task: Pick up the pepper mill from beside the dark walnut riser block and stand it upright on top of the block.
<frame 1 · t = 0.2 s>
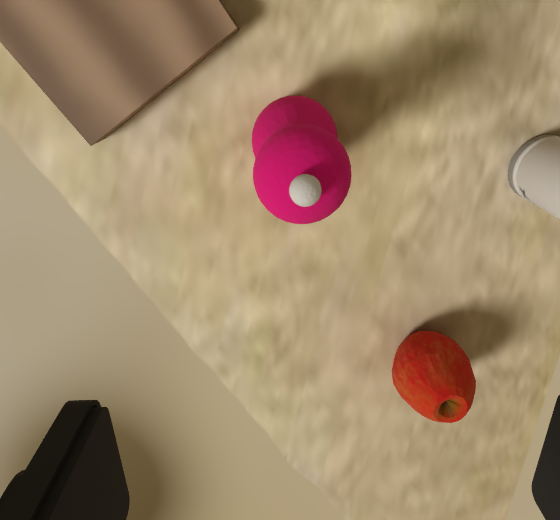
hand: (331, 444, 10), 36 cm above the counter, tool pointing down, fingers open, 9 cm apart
travel mug: (538, 168, 44), on the counter
pepper mill: (292, 132, 42), on the counter
apple: (419, 347, 53), on the counter
walnut base: (120, 25, 38), on the counter
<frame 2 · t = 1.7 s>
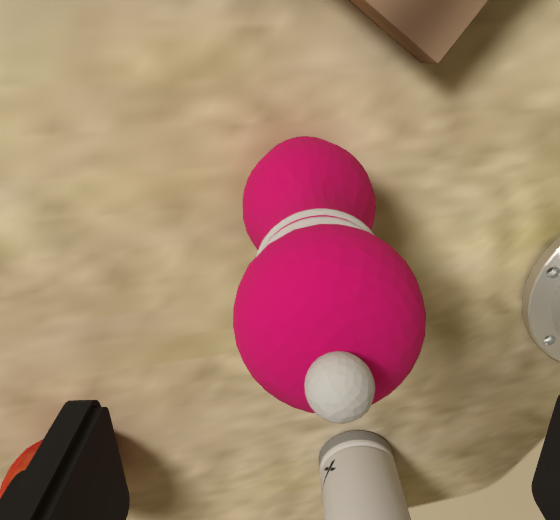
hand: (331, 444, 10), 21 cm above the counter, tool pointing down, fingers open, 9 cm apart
travel mug: (352, 454, 39), on the counter
pepper mill: (304, 185, 29), on the counter
apple: (86, 442, 38), on the counter
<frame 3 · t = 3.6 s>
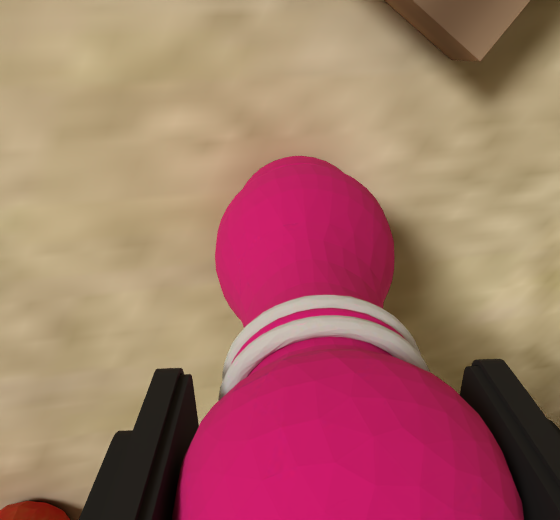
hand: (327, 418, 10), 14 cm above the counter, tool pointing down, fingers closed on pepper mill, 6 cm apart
pepper mill: (298, 216, 23), on the counter, touching gripper
apple: (38, 516, 32), on the counter
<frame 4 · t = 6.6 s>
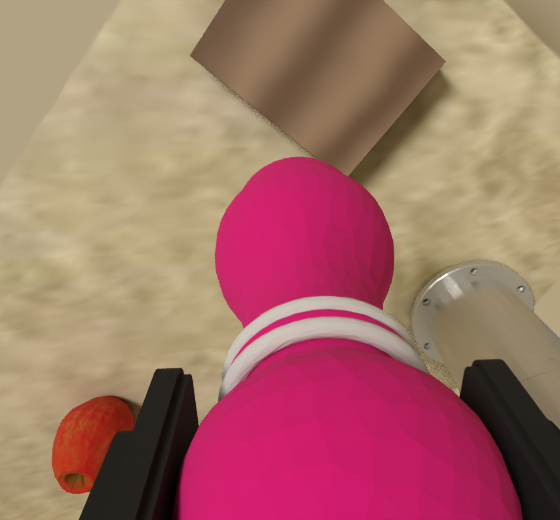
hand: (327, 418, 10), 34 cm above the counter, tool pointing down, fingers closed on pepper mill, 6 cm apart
pepper mill: (297, 217, 23), point 20 cm above the counter, touching gripper
apple: (109, 408, 54), on the counter
walnut base: (315, 58, 38), on the counter
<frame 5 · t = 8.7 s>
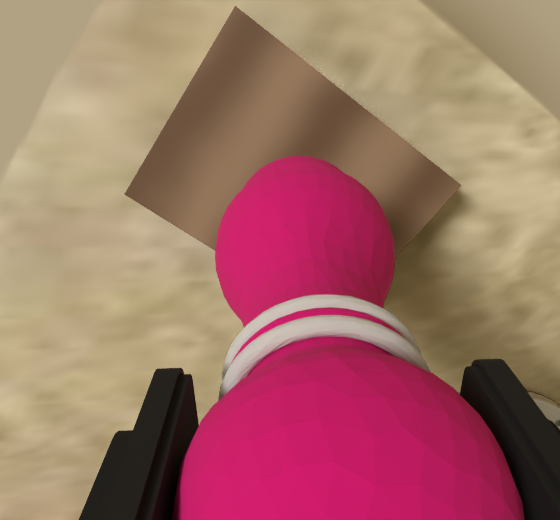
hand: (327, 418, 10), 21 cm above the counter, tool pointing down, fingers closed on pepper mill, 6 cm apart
pepper mill: (298, 216, 23), point 7 cm above the counter, touching gripper
walnut base: (291, 176, 29), on the counter
when the fingers open (18 cm above the counter, at t = 9.8 s): pepper mill drops 1 cm, resting on walnut base.
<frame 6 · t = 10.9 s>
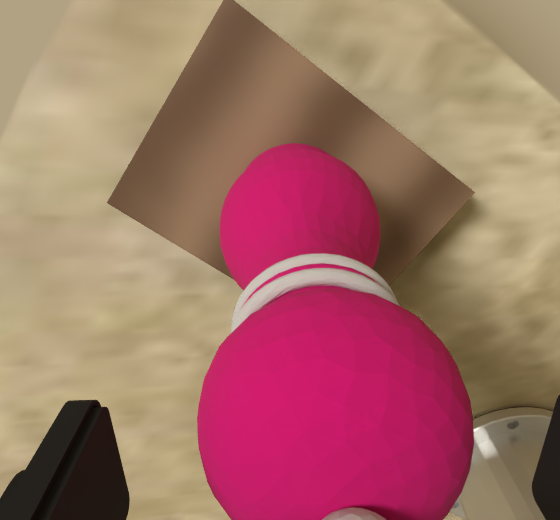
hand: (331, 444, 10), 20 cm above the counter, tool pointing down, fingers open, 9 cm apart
pepper mill: (293, 199, 25), point 3 cm above the counter, touching walnut base
walnut base: (289, 182, 27), on the counter
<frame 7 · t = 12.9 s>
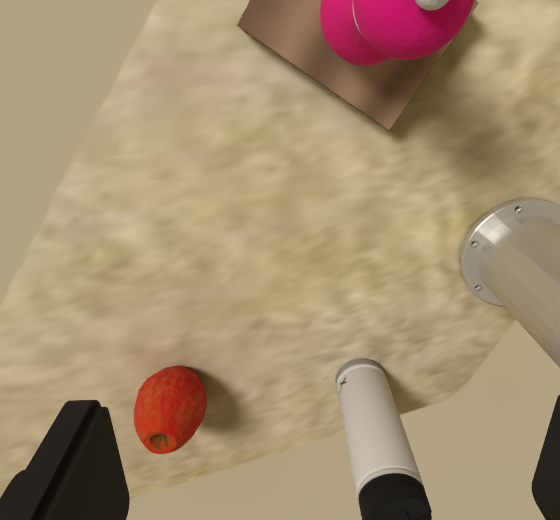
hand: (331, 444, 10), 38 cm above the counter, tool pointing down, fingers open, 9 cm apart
travel mug: (358, 377, 57), on the counter
pepper mill: (358, 16, 38), point 3 cm above the counter, touching walnut base
apple: (178, 379, 57), on the counter
walnut base: (351, 16, 40), on the counter
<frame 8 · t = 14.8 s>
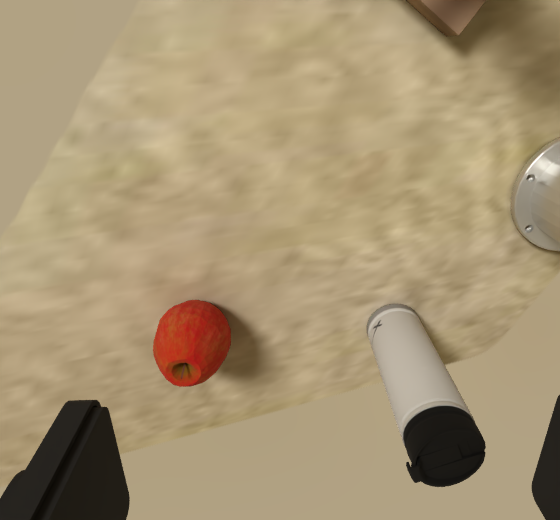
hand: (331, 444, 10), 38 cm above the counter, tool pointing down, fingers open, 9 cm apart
travel mug: (390, 324, 54), on the counter
apple: (199, 316, 53), on the counter
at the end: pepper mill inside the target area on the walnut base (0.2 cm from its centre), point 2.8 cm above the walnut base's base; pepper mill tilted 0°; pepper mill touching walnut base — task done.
